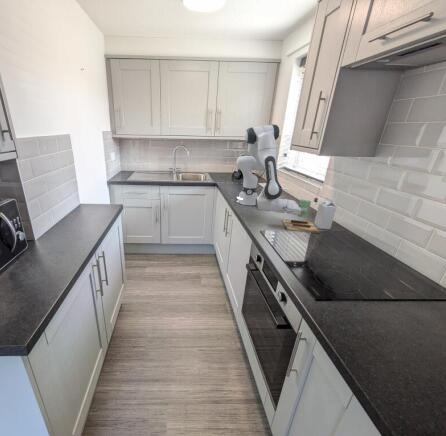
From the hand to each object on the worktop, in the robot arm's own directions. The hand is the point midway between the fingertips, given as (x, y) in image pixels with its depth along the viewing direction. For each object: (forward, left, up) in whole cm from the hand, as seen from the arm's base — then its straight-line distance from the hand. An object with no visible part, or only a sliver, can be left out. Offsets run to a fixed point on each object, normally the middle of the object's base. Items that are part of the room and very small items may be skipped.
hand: (305, 208), depth 144 cm
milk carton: (-4, +13, -13) cm, 19 cm away
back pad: (0, -1, -5) cm, 5 cm away
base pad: (0, -1, -13) cm, 13 cm away
